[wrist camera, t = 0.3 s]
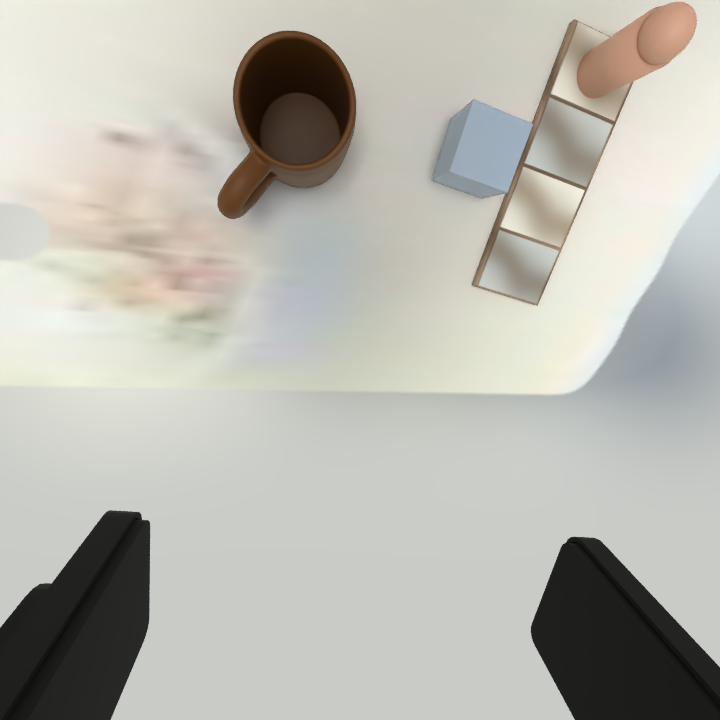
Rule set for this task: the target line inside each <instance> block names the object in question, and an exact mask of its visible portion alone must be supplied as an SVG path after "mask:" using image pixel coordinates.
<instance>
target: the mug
mask: <svg viewBox="0 0 720 720" xmlns="http://www.w3.org/2000/svg"><path fill="white" fill-rule="evenodd" d="M233 102H234V110H235V115H236V118H237V121H238V124H239V127H240V130H241V133H242V135H243V137H244V139H245V141H246V143H247V144H248V146H249V148H250V153H249V154H248V155H247V157H246V158H245V159H244V160H243V161H242V162H241V163H240V164H239V166H238V167H237V168H236V169H235V170H234V171H233V173H232V174H231V175H230V176H229V178H228V179H227V181H226V182H225V184H224V186H223V187H222V189H221V191H220V193H219V196H218V208H219V211H220V212H221V213H222V214H223V215H224V216H226V217H227V218H230V219H236V218H239V217H241V216H243V215H244V214H245V213H246V212H247V211H248V210H249V209H250V208H251V207H252V206H253V205H254V204H255V203H256V202H257V201H258V199H259V198H260V197H261V196H262V194H263V193H264V192H265V190H266V189H267V188H268V186H269V185H270V184H271V183H272V182H273V181H274V180H275V179H277V180H279V181H281V182H282V183H284V184H287V185H289V186H293V187H298V188H308V187H314V186H317V185H319V184H322V183H324V182H325V181H327V180H328V179H329V178H330V177H332V176H333V175H334V173H335V172H336V171H337V170H338V168H339V167H340V165H341V163H342V161H343V159H344V157H345V155H346V152H347V150H348V147H349V145H350V142H351V139H352V136H353V132H354V127H355V118H356V98H355V91H354V87H353V83H352V80H351V77H350V75H349V73H348V71H347V69H346V67H345V65H344V63H343V62H342V60H341V59H340V57H339V56H338V55H337V54H336V53H335V51H334V50H332V49H331V48H330V47H329V46H328V45H327V44H326V43H324V42H323V41H321V40H320V39H318V38H316V37H314V36H312V35H309V34H307V33H303V32H298V31H281V32H276V33H273V34H270V35H268V36H266V37H264V38H262V39H261V40H259V41H258V42H256V43H255V44H254V45H253V46H252V47H251V48H250V49H249V50H248V52H247V53H246V54H245V56H244V57H243V59H242V61H241V63H240V65H239V67H238V70H237V73H236V76H235V80H234V88H233Z"/></svg>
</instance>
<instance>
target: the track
mask: <svg viewBox="0 0 720 720" xmlns="http://www.w3.org/2000/svg"><path fill="white" fill-rule="evenodd" d="M608 38H610V36H608V35H606V34H604V33H602V32H600V31H597V30H595V29H593V28H591V27H589V26H587V25H585V24H583V23H581V22H579V21H577V20H575V19H574V20H573V21H572V22H571V23H570V24H569V27H568V29H567V32H566V35H565V37H564V40H563V43H562V45H561V48H560V51H559V53H558V56H557V59H556V61H555V64H554V67H553V69H552V72H551V75H550V77H549V80H548V83H547V85H546V88H545V91H544V93H543V96H542V99H541V101H540V104H539V107H538V109H537V112H536V115H535V117H534V120H533V123H532V124H533V126H532V128H531V131H530V134H529V136H528V139H527V142H526V144H525V147H524V150H523V152H522V155H521V158H520V160H519V163H518V166H517V168H516V171H515V174H514V176H513V179H512V182H511V184H510V187H509V190H508V192H507V193H506V195H505V197H504V200H503V203H502V205H501V208H500V211H499V213H498V216H497V219H496V221H495V224H494V227H493V229H492V232H491V235H490V237H489V240H488V243H487V245H486V248H485V251H484V253H483V256H482V259H481V261H480V264H479V267H478V269H477V272H476V275H475V277H474V280H473V283H472V285H473V286H476V287H479V288H483V289H486V290H489V291H492V292H495V293H499V294H502V295H505V296H508V297H512V298H515V299H518V300H521V301H524V302H528V303H531V304H534V305H537V306H538V303H539V301H540V299H541V296H542V294H543V292H544V289H545V287H546V285H547V282H548V280H549V278H550V275H551V273H552V271H553V268H554V266H555V264H556V261H557V259H558V257H559V254H560V252H561V250H562V247H563V245H564V243H565V240H566V238H567V236H568V233H569V231H570V229H571V226H572V224H573V222H574V219H575V217H576V215H577V212H578V210H579V208H580V205H581V203H582V201H583V198H584V196H585V194H586V191H587V189H588V186H589V184H590V182H591V179H592V177H593V175H594V172H595V170H596V168H597V165H598V163H599V161H600V158H601V156H602V154H603V151H604V149H605V147H606V144H607V142H608V140H609V137H610V135H611V133H612V130H613V128H614V126H615V123H616V121H617V119H618V116H619V114H620V112H621V109H622V107H623V105H624V102H625V100H626V98H627V95H628V93H629V91H630V88H631V86H632V84H633V82H631V83H629V84H627V85H624V86H622V87H620V88H618V89H616V90H614V91H612V92H610V93H608V94H606V95H604V96H602V97H599V98H589V97H586V96H585V95H583V93H582V92H581V91H580V89H579V87H578V84H577V70H578V66H579V64H580V62H581V60H582V58H583V57H584V56H585V55H586V54H587V53H588V52H589V51H591V50H592V49H594V48H595V47H597V46H598V45H599V44H601V43H602V42H604V41H605V40H607V39H608Z"/></svg>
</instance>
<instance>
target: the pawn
mask: <svg viewBox="0 0 720 720" xmlns="http://www.w3.org/2000/svg"><path fill="white" fill-rule="evenodd" d="M696 24H697V17H696V13H695V11H694V9H693V8H692V7H691V6H690V5H689V4H686V3H684V2H673V3H669V4H666V5H664V6H660V7H656V8H654V9H652V10H650V11H649V12H647V13H646V14H644V15H643V16H641V17H640V18H638V19H637V20H635V21H634V22H632V23H631V24H629V25H628V26H626V27H625V28H623V29H622V30H620V31H619V32H617V33H616V34H614V35H613V36H611V37H610V38H608V39H607V40H605V41H604V42H602V43H601V44H599V45H598V46H597V47H595V48H594V49H592V50H591V51H589V52H588V53H587V54H586V55H585V56H584V57H583V58H582V60H581V62H580V64H579V66H578V70H577V84H578V87H579V89H580V91H581V92H582V93H583V95H585V96H586V97H589V98H599V97H602V96H604V95H606V94H608V93H610V92H612V91H614V90H616V89H618V88H620V87H622V86H624V85H627V84H629V83H631V82H633V81H635V80H637V79H639V78H641V77H643V76H645V75H647V74H649V73H651V72H653V71H655V70H657V69H660V68H662V67H664V66H665V65H667V64H668V63H669V62H670V61H671V60H672V59H673V58H674V57H676V56H677V55H678V54H679V53H681V52H682V51H683V50H684V49H685V47H686V46H687V45H688V43H689V42H690V40H691V39H692V37H693V35H694V32H695V29H696Z"/></svg>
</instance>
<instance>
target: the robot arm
mask: <svg viewBox="0 0 720 720" xmlns="http://www.w3.org/2000/svg"><path fill="white" fill-rule="evenodd" d="M149 584H150V522H149V521H148V520H142V517H141V514H140V513H139V512H128V511H108V512H106V513H105V514H104V515H103V517H102V518H101V519H100V521H99V522H98V523H97V525H96V526H95V527H94V529H93V530H92V531H91V532H90V534H89V535H88V536H87V538H86V539H85V540H84V542H83V543H82V544H81V546H80V547H79V548H78V550H77V551H76V552H75V554H74V555H73V556H72V558H71V559H70V560H69V561H68V563H67V564H66V566H65V567H64V568H63V569H62V571H61V572H60V573H59V575H58V576H57V577H56V579H55V580H54V581H53V583H52V584H46V583H45V584H39V585H38V586H37V587H35V588H33V589H32V590H31V591H30V592H29V594H28V595H27V596H26V597H25V598H24V599H23V600H22V601H21V603H20V604H19V605H18V606H17V608H16V609H15V610H14V611H13V613H12V614H11V615H10V616H9V618H8V619H7V620H6V621H5V623H4V624H3V625H2V627H1V628H0V720H110V719H111V717H112V715H113V712H114V710H115V708H116V705H117V703H118V700H119V698H120V696H121V693H122V691H123V689H124V686H125V684H126V682H127V679H128V677H129V674H130V672H131V670H132V667H133V665H134V663H135V660H136V658H137V656H138V653H139V651H140V648H141V646H142V644H143V641H144V639H145V636H146V632H147V629H148V624H149ZM531 635H532V639H533V642H534V644H535V647H536V648H537V650H538V652H539V654H540V656H541V658H542V660H543V661H544V663H545V665H546V667H547V669H548V670H549V672H550V674H551V676H552V678H553V680H554V682H555V683H556V685H557V687H558V689H559V691H560V693H561V695H562V696H563V698H564V700H565V702H566V704H567V706H568V708H569V710H570V711H571V713H572V715H573V717H574V719H575V720H720V667H719V666H718V665H717V664H716V663H715V662H714V661H713V660H712V659H711V658H710V656H709V655H708V654H707V653H706V652H705V651H704V650H703V649H702V648H701V647H700V646H699V645H698V644H697V643H696V642H695V640H694V639H693V638H692V637H691V636H690V635H689V634H688V633H687V632H686V631H685V630H684V629H683V628H682V627H681V626H680V625H679V623H677V621H676V620H675V619H674V618H673V617H672V616H671V615H670V614H669V613H668V612H667V611H666V610H665V609H664V608H663V607H662V605H661V604H660V603H659V602H658V601H657V600H656V599H655V598H654V597H653V596H652V595H651V594H650V593H649V592H648V591H647V590H646V588H645V587H644V586H643V585H642V584H641V583H640V582H639V581H638V580H637V579H636V578H635V577H634V576H633V575H632V574H631V572H630V571H629V570H628V569H627V568H626V567H625V566H624V565H623V564H622V563H621V562H620V561H619V560H618V559H617V558H616V557H615V556H614V554H613V553H612V552H611V551H610V550H609V549H608V548H607V547H606V546H605V545H604V544H603V543H602V542H601V541H600V540H598V539H596V538H586V537H571V538H569V539H568V540H567V542H566V543H565V544H563V545H562V547H561V549H560V552H559V554H558V557H557V560H556V563H555V565H554V568H553V570H552V573H551V575H550V578H549V581H548V583H547V586H546V589H545V591H544V594H543V596H542V599H541V602H540V604H539V607H538V609H537V612H536V615H535V617H534V620H533V622H532V626H531Z"/></svg>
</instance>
